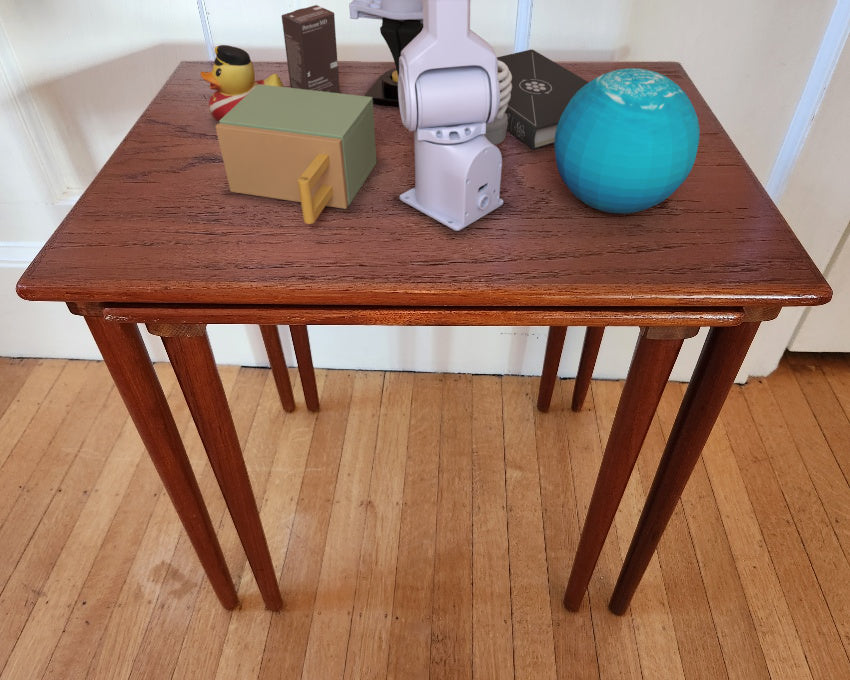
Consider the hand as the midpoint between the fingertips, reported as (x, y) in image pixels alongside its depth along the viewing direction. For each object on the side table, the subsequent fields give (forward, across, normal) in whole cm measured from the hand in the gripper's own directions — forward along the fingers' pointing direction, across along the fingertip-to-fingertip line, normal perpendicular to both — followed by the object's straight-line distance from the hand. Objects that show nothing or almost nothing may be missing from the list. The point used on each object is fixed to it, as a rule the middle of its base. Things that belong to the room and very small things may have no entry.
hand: (404, 74), depth 97 cm
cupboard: (+3, +5, +25) cm, 26 cm away
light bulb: (+3, -15, +14) cm, 21 cm away
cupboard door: (+3, +5, +34) cm, 34 cm away
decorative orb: (+3, -31, +22) cm, 38 cm away
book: (+3, -18, -1) cm, 19 cm away
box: (+3, +12, +5) cm, 13 cm away
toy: (+3, +19, +12) cm, 23 cm away
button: (+2, 0, 0) cm, 2 cm away
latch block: (+3, 0, 0) cm, 3 cm away
